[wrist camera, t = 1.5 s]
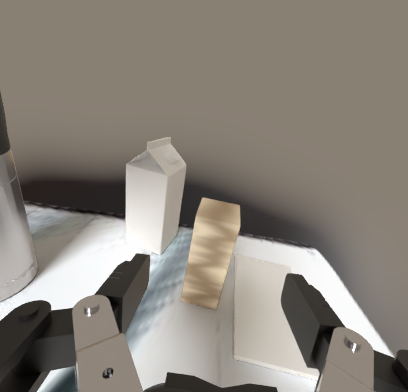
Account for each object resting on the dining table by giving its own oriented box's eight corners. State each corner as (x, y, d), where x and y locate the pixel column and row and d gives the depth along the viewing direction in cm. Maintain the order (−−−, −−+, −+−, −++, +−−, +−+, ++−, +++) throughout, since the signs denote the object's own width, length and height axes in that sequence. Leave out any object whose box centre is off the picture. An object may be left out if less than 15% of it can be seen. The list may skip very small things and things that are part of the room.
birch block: (180, 301, 29) (195, 215, 23) (188, 274, 33) (202, 197, 27) (215, 309, 28) (240, 225, 23) (218, 281, 33) (239, 205, 27)
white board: (233, 358, 23) (234, 354, 23) (234, 257, 39) (235, 254, 38) (322, 382, 23) (325, 378, 22) (287, 270, 38) (289, 266, 38)
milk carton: (125, 243, 37) (125, 137, 29) (146, 224, 44) (152, 132, 36) (160, 256, 36) (170, 148, 28) (177, 234, 42) (190, 141, 34)
